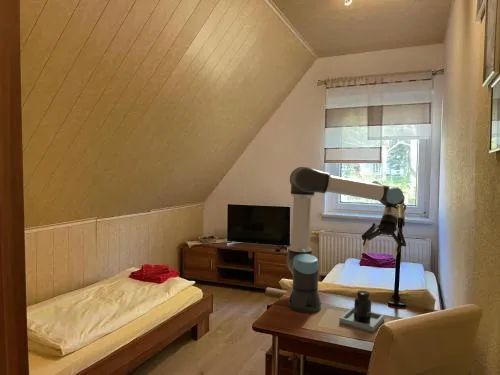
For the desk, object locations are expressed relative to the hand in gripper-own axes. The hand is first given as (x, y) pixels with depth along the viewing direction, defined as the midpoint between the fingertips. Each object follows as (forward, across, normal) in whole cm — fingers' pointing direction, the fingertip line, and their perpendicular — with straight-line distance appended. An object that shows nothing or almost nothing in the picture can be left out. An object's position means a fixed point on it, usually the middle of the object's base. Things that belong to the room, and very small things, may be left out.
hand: (378, 254), depth 169 cm
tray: (+31, 0, -5) cm, 31 cm away
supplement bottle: (+30, 0, -5) cm, 31 cm away
